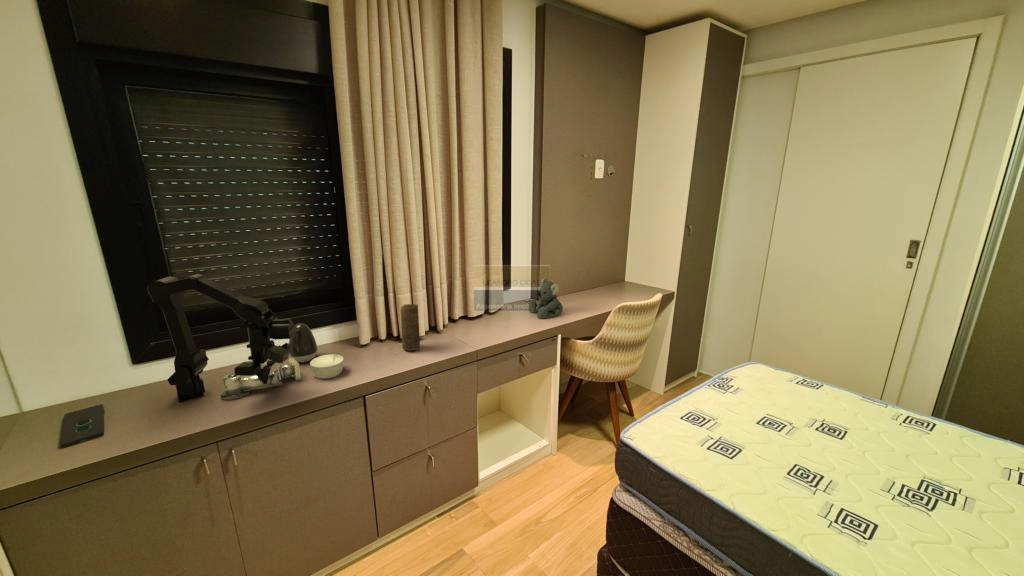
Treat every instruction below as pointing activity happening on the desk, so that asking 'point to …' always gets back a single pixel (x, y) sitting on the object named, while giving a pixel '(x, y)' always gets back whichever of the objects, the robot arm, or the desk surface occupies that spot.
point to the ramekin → (327, 366)
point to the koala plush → (546, 301)
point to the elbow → (247, 382)
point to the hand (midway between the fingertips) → (265, 383)
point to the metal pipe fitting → (283, 372)
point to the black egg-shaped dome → (303, 344)
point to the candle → (410, 327)
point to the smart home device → (82, 425)
